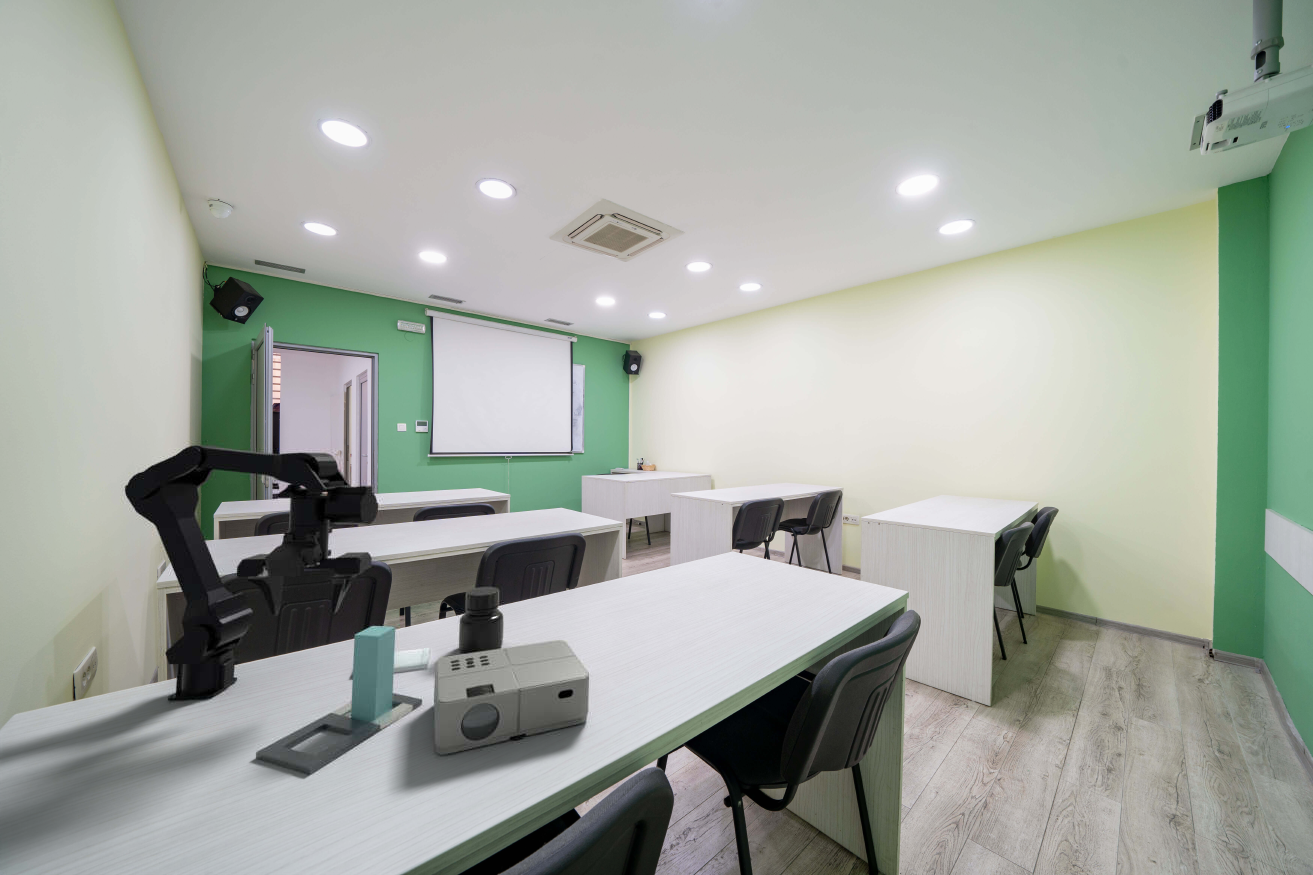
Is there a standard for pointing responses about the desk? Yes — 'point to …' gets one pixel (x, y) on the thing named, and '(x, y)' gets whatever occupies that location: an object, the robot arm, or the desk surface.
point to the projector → (507, 694)
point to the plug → (373, 673)
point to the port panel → (337, 723)
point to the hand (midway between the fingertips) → (305, 613)
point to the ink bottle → (481, 621)
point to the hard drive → (411, 660)
